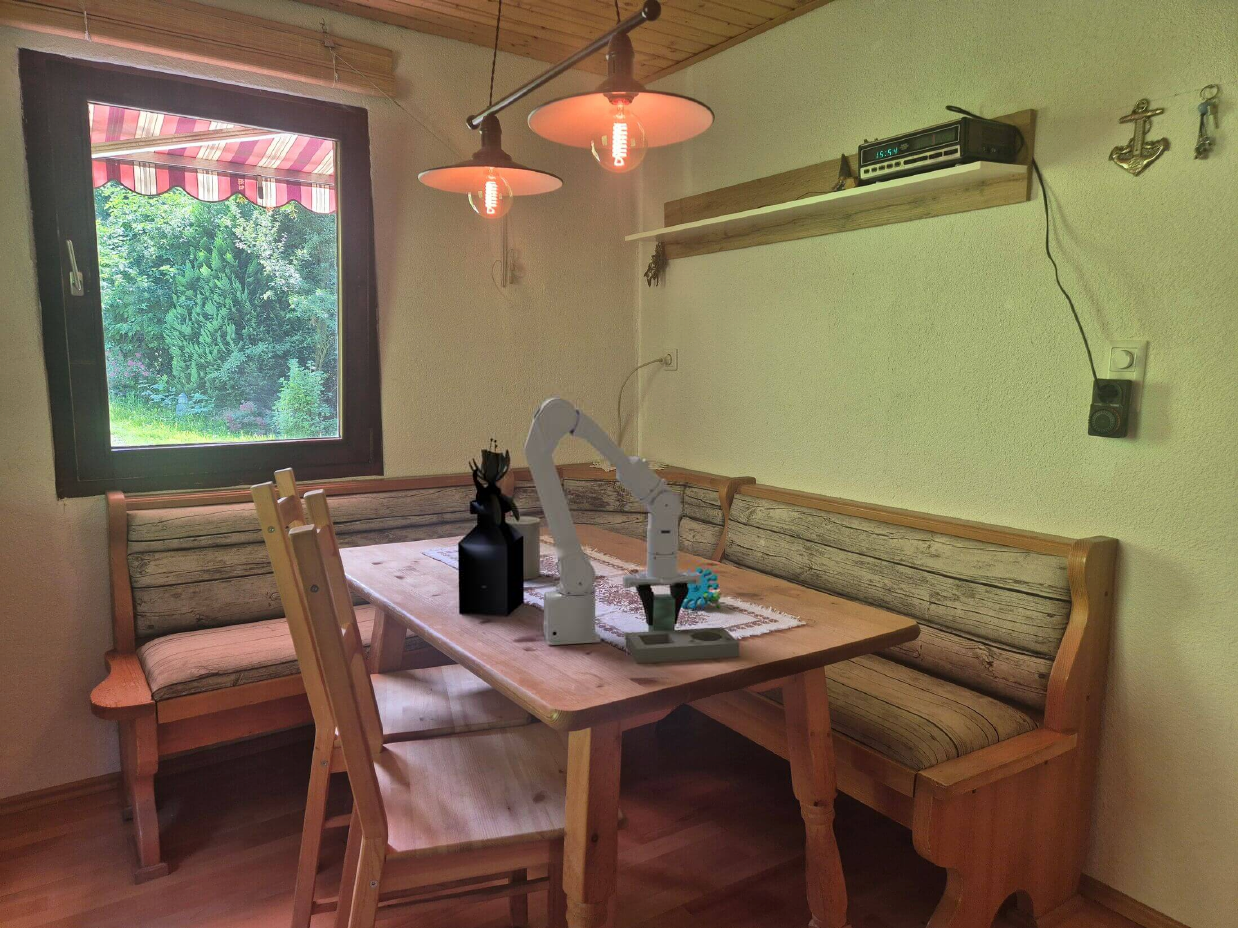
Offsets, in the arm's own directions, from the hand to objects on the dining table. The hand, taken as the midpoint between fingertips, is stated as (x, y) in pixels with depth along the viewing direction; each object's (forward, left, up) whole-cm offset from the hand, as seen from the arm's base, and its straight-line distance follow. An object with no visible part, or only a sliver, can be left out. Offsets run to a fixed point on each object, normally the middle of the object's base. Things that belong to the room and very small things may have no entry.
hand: (661, 623), depth 154 cm
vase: (-30, +23, -2) cm, 38 cm away
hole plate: (+1, -10, -2) cm, 10 cm away
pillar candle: (-22, +50, -2) cm, 55 cm away
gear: (+12, +17, -2) cm, 21 cm away
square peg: (0, 0, -2) cm, 2 cm away
